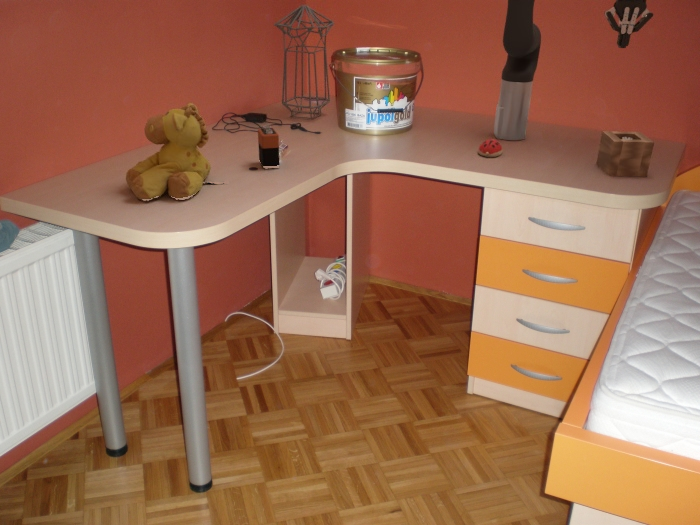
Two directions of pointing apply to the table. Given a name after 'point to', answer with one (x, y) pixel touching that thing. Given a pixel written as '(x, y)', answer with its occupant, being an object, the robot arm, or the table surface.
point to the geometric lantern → (294, 18)
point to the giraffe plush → (172, 156)
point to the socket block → (624, 153)
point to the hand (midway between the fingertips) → (621, 47)
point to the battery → (268, 146)
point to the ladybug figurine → (490, 148)
